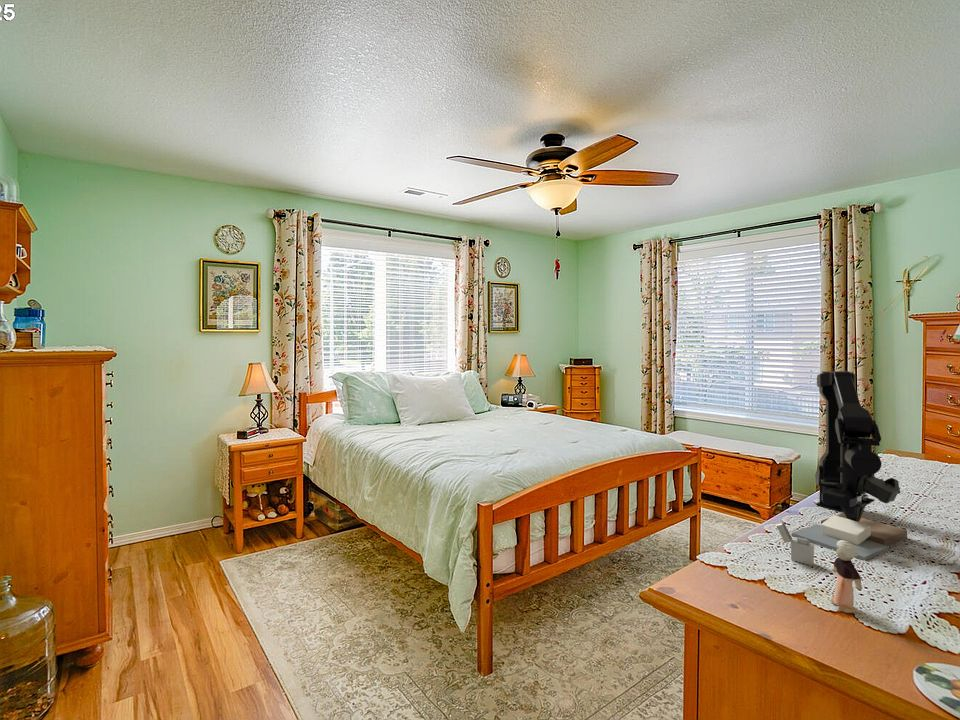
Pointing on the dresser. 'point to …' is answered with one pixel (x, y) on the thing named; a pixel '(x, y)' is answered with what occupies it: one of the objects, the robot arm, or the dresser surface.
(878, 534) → the board
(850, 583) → the grandmother figurine
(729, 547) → the dresser surface
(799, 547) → the lighter
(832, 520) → the tile
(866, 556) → the mat
